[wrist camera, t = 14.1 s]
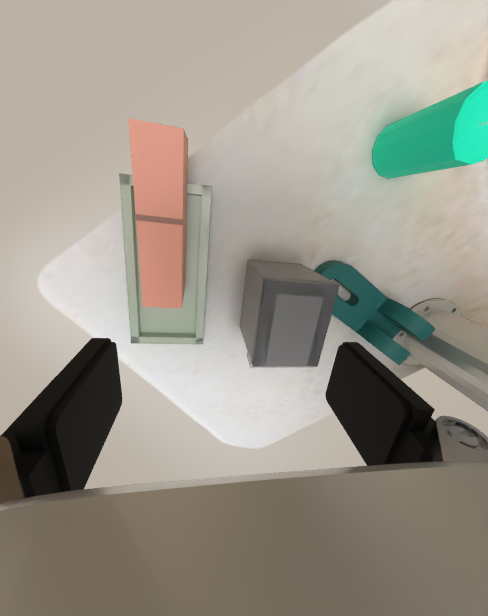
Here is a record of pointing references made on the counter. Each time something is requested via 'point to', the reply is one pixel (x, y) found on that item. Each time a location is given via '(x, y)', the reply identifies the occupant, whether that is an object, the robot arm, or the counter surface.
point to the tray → (190, 319)
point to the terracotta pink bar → (160, 210)
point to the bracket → (374, 312)
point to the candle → (436, 136)
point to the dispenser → (285, 314)
